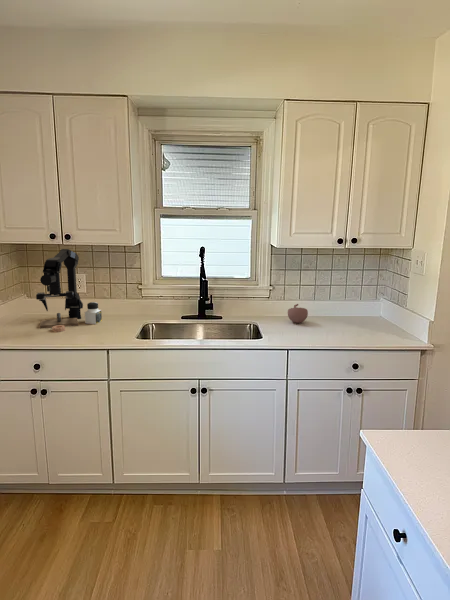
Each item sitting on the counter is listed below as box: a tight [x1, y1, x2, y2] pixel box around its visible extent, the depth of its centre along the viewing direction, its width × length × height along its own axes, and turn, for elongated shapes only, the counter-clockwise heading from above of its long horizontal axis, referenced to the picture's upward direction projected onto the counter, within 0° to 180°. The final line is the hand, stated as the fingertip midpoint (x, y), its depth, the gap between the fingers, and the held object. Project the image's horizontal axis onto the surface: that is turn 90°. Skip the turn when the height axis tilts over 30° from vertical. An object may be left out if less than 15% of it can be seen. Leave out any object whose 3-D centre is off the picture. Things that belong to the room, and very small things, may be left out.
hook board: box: [39, 312, 79, 329], centre depth 238 cm, size 20×12×6 cm, turn 110°
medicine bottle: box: [84, 301, 103, 325], centre depth 242 cm, size 7×7×12 cm
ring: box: [51, 325, 66, 333], centre depth 226 cm, size 6×6×2 cm
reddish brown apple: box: [287, 303, 309, 324], centre depth 247 cm, size 12×12×11 cm
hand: (56, 310), depth 224 cm, fingers open, 9 cm apart
